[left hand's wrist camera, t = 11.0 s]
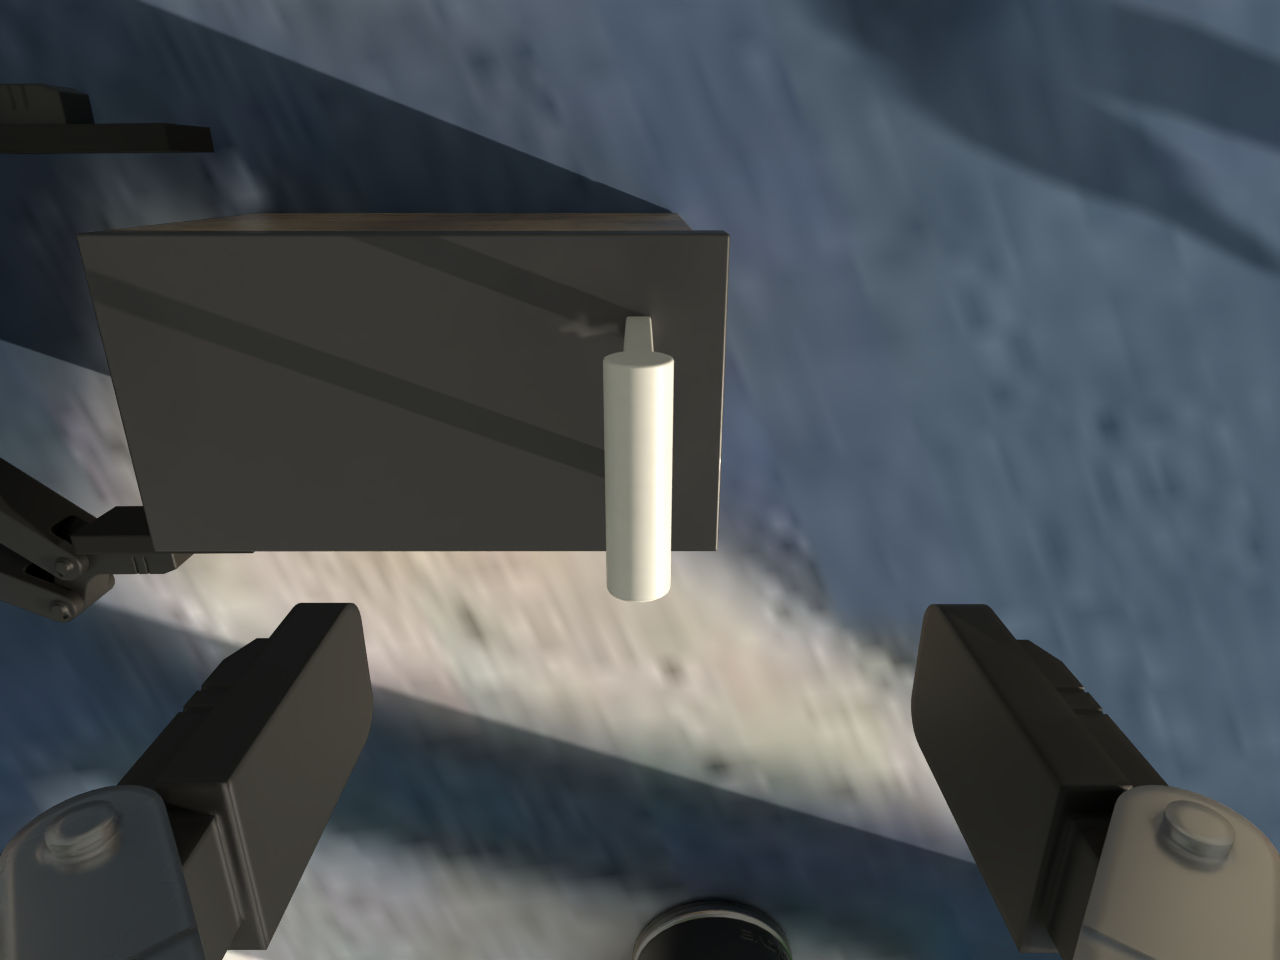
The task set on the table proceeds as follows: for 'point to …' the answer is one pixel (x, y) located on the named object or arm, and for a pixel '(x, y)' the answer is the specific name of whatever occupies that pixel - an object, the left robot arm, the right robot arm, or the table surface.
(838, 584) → the table surface
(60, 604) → the right robot arm
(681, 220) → the chest
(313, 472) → the lid
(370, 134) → the table surface
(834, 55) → the table surface
